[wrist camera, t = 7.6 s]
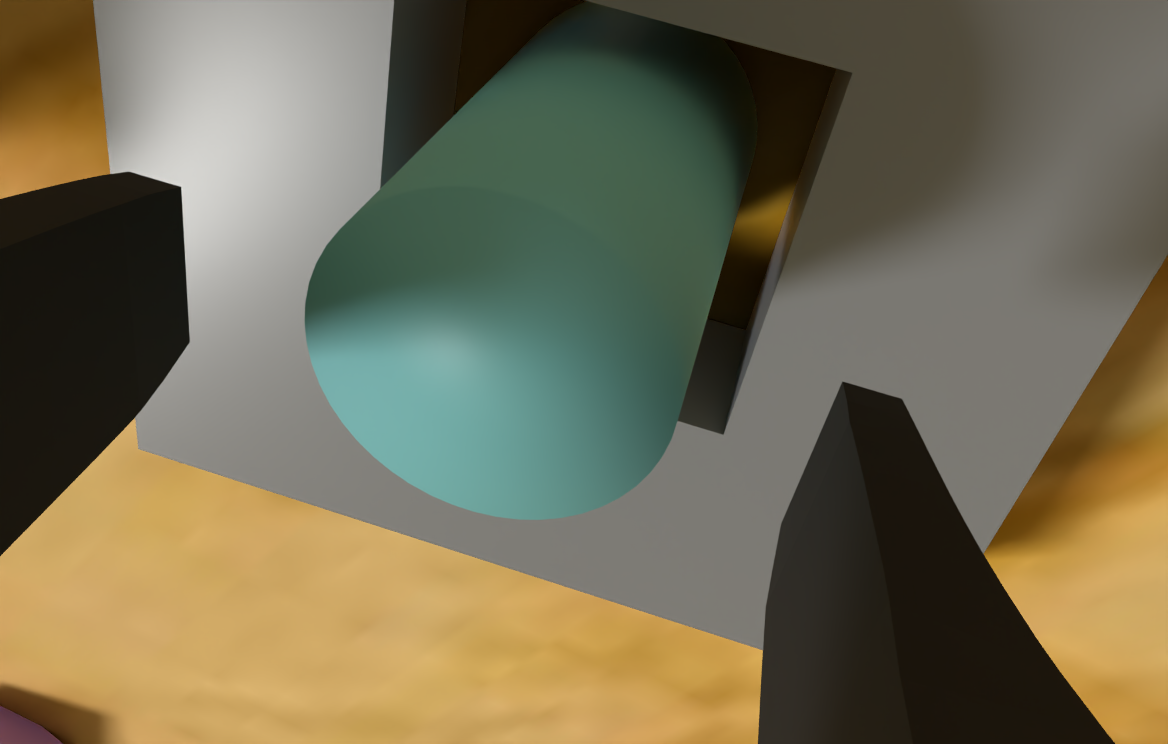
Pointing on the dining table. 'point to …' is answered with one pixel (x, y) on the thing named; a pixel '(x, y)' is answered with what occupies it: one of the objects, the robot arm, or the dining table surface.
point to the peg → (542, 270)
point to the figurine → (22, 730)
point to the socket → (726, 353)
